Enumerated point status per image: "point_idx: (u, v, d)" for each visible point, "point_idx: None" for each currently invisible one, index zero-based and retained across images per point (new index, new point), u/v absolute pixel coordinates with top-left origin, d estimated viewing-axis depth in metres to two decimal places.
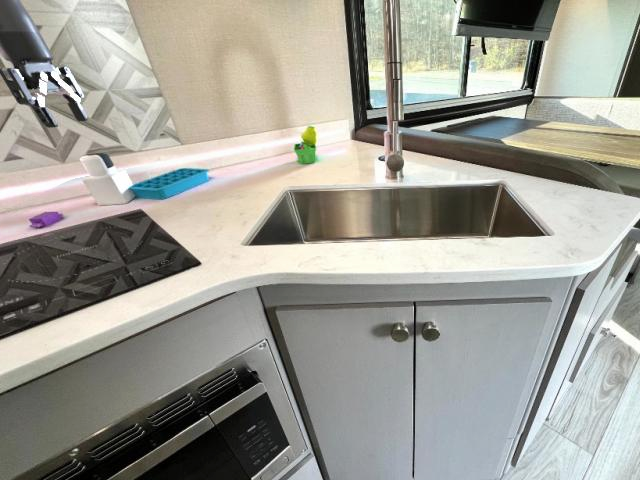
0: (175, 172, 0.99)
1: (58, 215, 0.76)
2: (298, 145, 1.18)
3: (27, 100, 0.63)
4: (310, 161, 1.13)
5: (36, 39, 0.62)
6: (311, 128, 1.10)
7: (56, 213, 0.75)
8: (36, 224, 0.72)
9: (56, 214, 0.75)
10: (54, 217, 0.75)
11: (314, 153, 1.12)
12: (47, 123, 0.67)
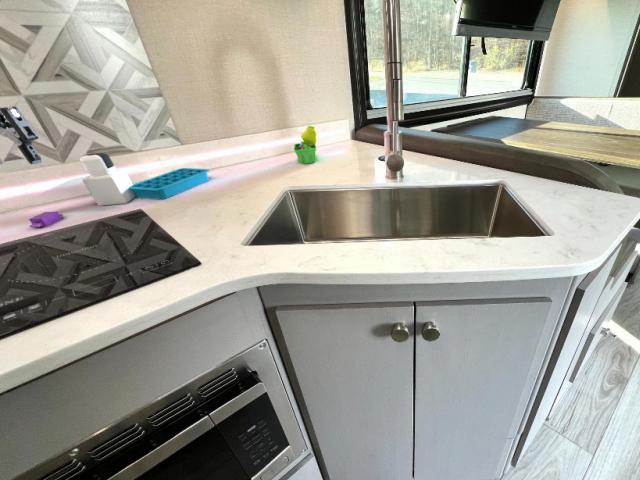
0: (175, 172, 0.99)
1: (58, 215, 0.76)
2: (298, 145, 1.18)
3: (36, 135, 0.66)
4: (310, 161, 1.13)
5: None
6: (311, 128, 1.10)
7: (56, 213, 0.75)
8: (36, 224, 0.72)
9: (56, 214, 0.75)
10: (54, 217, 0.75)
11: (314, 153, 1.12)
12: (39, 158, 0.68)
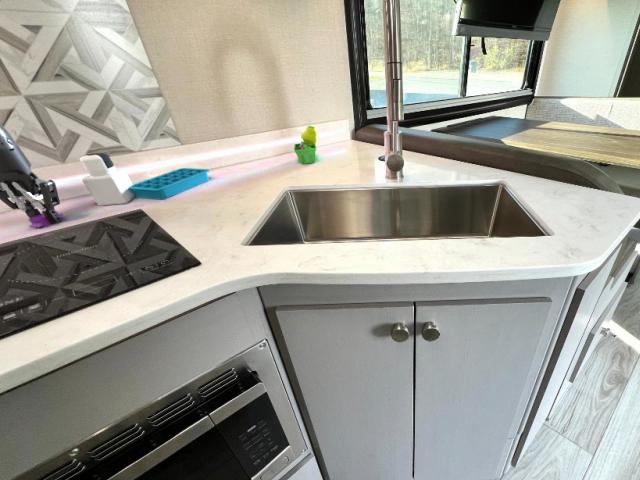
0: (175, 172, 0.99)
1: None
2: (298, 145, 1.18)
3: (59, 202, 0.73)
4: (310, 161, 1.13)
5: None
6: (311, 128, 1.10)
7: None
8: (36, 224, 0.72)
9: None
10: None
11: (314, 153, 1.12)
12: (60, 220, 0.75)
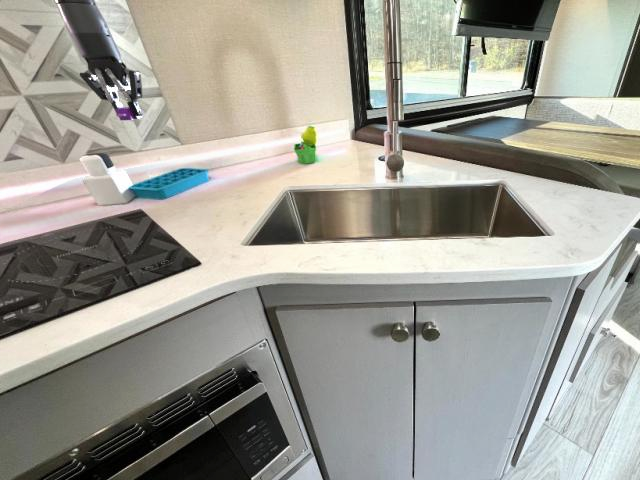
0: (175, 172, 0.99)
1: None
2: (298, 145, 1.18)
3: (142, 95, 0.80)
4: (310, 161, 1.13)
5: None
6: (311, 128, 1.10)
7: None
8: (122, 114, 0.79)
9: None
10: None
11: (314, 153, 1.12)
12: (141, 114, 0.82)
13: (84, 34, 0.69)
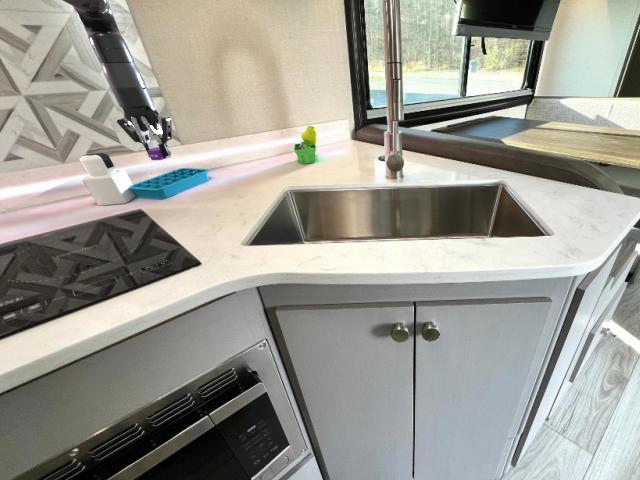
0: (175, 172, 0.99)
1: None
2: (298, 145, 1.18)
3: (171, 138, 0.88)
4: (310, 161, 1.13)
5: None
6: (311, 128, 1.10)
7: None
8: (153, 155, 0.87)
9: None
10: None
11: (314, 153, 1.12)
12: (170, 154, 0.90)
13: (124, 89, 0.77)
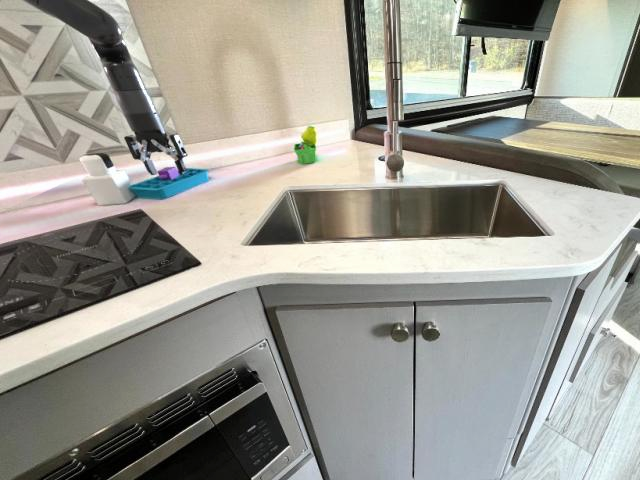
0: None
1: (176, 170, 0.94)
2: (298, 145, 1.18)
3: None
4: (310, 161, 1.13)
5: None
6: (311, 128, 1.10)
7: (175, 168, 0.93)
8: (163, 175, 0.90)
9: (175, 169, 0.93)
10: (174, 171, 0.93)
11: (314, 153, 1.12)
12: (185, 170, 0.93)
13: (136, 114, 0.81)
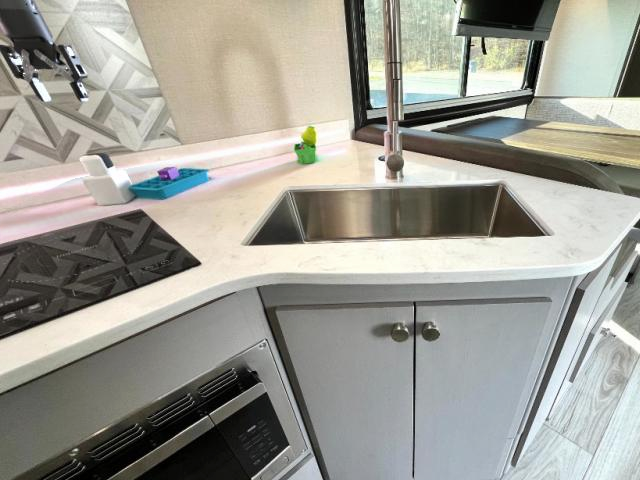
0: None
1: (176, 170, 0.94)
2: (298, 145, 1.18)
3: (86, 74, 0.72)
4: (310, 161, 1.13)
5: None
6: (311, 128, 1.10)
7: (175, 168, 0.93)
8: (163, 175, 0.90)
9: (175, 169, 0.93)
10: (174, 171, 0.93)
11: (314, 153, 1.12)
12: (86, 96, 0.74)
13: (6, 10, 0.62)
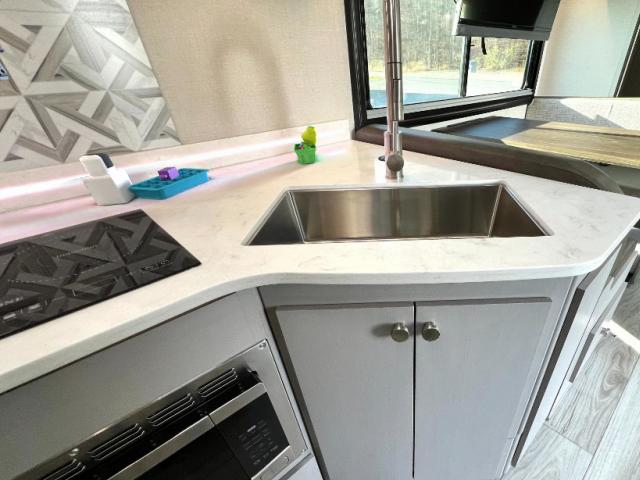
0: None
1: (176, 170, 0.94)
2: (298, 145, 1.18)
3: None
4: (310, 161, 1.13)
5: None
6: (311, 128, 1.10)
7: (175, 168, 0.93)
8: (163, 175, 0.90)
9: (175, 169, 0.93)
10: (174, 171, 0.93)
11: (314, 153, 1.12)
12: (5, 74, 0.65)
13: None
